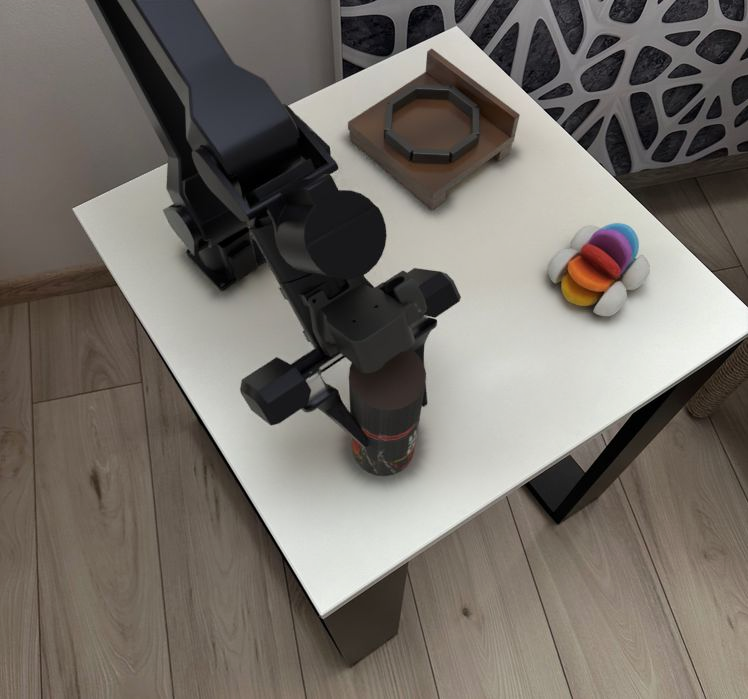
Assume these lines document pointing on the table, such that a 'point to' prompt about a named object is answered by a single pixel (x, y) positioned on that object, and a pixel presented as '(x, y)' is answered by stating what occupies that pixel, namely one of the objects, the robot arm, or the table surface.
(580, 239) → the rainbow disc toy
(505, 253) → the table surface
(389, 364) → the deodorant
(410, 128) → the shelf
